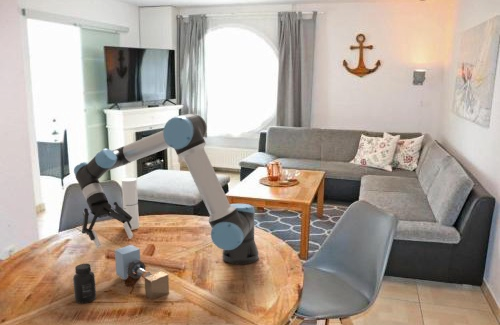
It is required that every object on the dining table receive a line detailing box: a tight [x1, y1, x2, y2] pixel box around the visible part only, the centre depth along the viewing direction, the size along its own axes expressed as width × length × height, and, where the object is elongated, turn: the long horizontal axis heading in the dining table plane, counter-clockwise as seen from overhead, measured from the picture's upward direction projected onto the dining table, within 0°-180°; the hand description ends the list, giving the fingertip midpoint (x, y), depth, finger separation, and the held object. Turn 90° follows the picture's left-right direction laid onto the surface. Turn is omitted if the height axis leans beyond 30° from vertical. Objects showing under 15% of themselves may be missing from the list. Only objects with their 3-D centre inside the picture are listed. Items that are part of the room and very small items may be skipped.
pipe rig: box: [127, 263, 170, 301], centre depth 153 cm, size 25×7×7 cm, turn 45°
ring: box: [127, 260, 146, 279], centre depth 155 cm, size 2×6×6 cm, turn 135°
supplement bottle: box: [72, 263, 97, 304], centre depth 143 cm, size 7×7×12 cm
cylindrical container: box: [121, 177, 140, 231], centre depth 211 cm, size 7×7×25 cm
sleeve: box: [114, 244, 141, 281], centre depth 159 cm, size 6×7×10 cm
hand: (115, 241), depth 163 cm, fingers open, 13 cm apart
